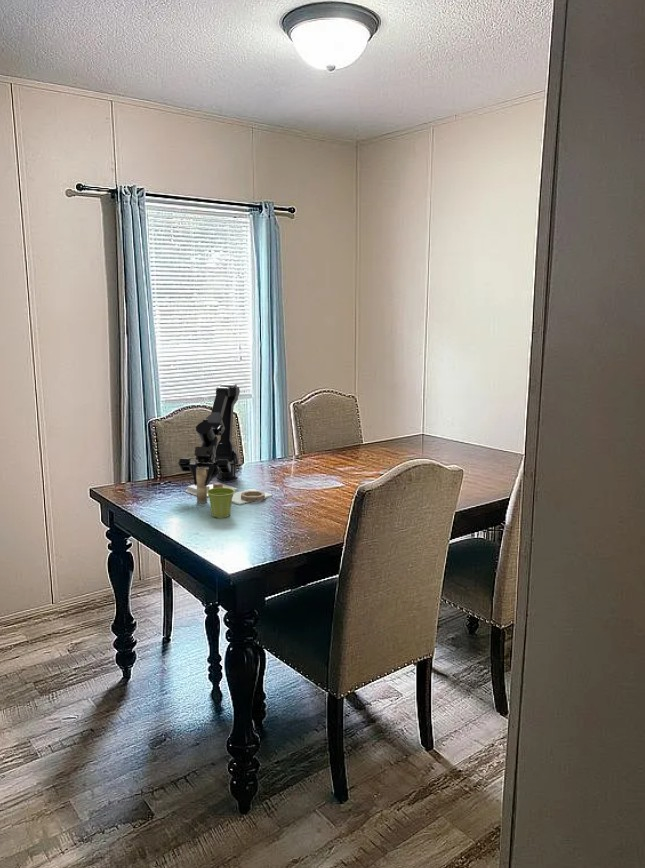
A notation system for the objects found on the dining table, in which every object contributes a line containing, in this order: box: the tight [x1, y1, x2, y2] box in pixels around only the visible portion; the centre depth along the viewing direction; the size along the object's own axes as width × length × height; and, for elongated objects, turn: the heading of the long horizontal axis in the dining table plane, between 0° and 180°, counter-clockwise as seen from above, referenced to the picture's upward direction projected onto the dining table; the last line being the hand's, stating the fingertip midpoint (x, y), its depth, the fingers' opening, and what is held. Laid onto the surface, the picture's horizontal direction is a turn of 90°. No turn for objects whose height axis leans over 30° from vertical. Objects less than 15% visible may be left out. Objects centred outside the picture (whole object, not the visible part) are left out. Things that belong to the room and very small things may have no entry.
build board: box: [231, 488, 273, 506], centre depth 251 cm, size 16×14×2 cm
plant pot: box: [207, 488, 236, 519], centre depth 230 cm, size 9×9×9 cm
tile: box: [185, 482, 239, 498], centre depth 260 cm, size 16×12×4 cm
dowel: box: [196, 468, 208, 504], centre depth 245 cm, size 4×4×12 cm
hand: (200, 485), depth 244 cm, fingers closed on dowel, 4 cm apart
